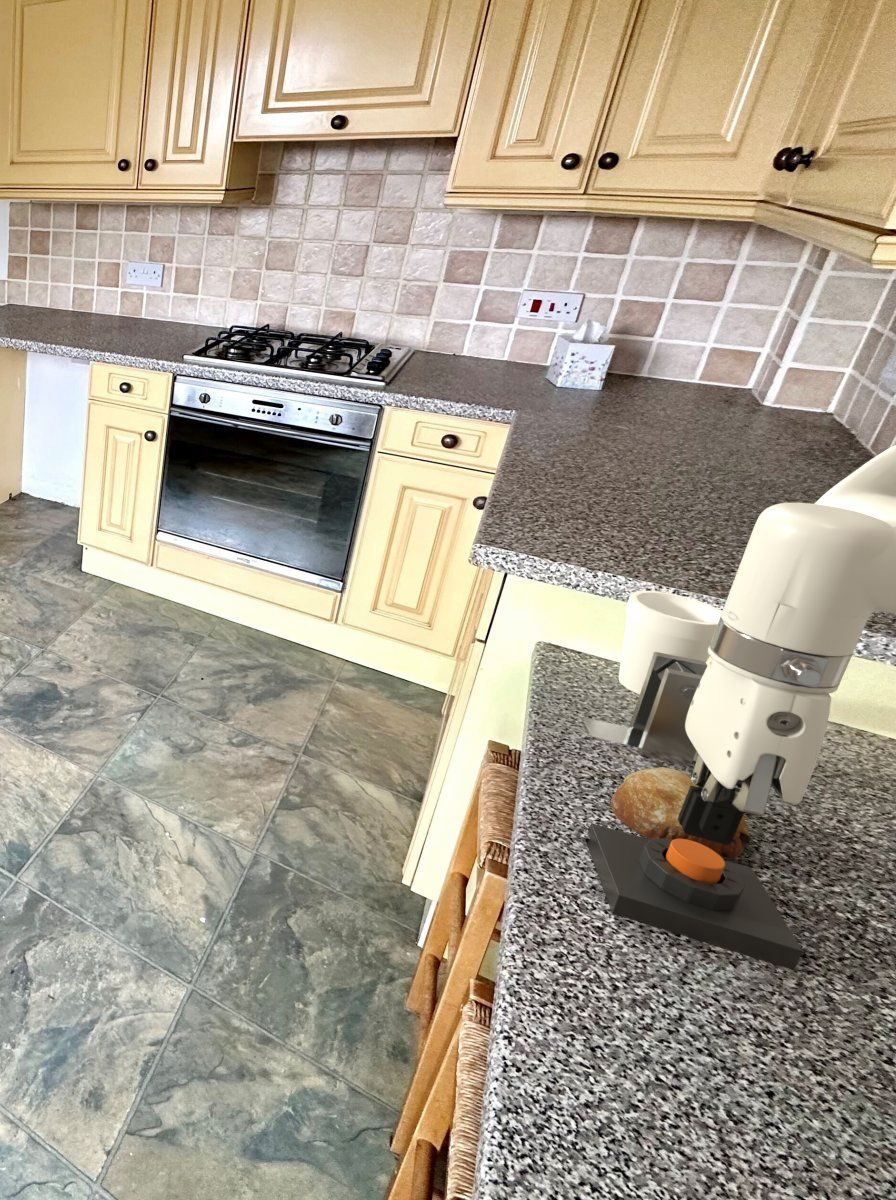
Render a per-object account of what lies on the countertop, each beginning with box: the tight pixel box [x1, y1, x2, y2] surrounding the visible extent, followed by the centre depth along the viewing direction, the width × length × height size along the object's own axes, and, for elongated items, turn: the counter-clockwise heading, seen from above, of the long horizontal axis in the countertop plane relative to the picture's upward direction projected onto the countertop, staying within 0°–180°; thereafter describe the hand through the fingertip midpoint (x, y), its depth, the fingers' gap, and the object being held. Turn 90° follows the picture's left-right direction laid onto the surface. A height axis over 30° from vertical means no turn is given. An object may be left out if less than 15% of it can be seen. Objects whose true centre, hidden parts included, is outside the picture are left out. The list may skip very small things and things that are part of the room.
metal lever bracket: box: [580, 652, 708, 768], centre depth 88 cm, size 12×9×13 cm
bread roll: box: [610, 766, 752, 860], centre depth 79 cm, size 10×10×8 cm
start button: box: [665, 839, 725, 884], centre depth 70 cm, size 4×4×2 cm
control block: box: [584, 822, 804, 971], centre depth 71 cm, size 12×10×4 cm
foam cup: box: [618, 590, 723, 695], centre depth 101 cm, size 10×9×13 cm
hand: (702, 833), depth 69 cm, fingers closed
